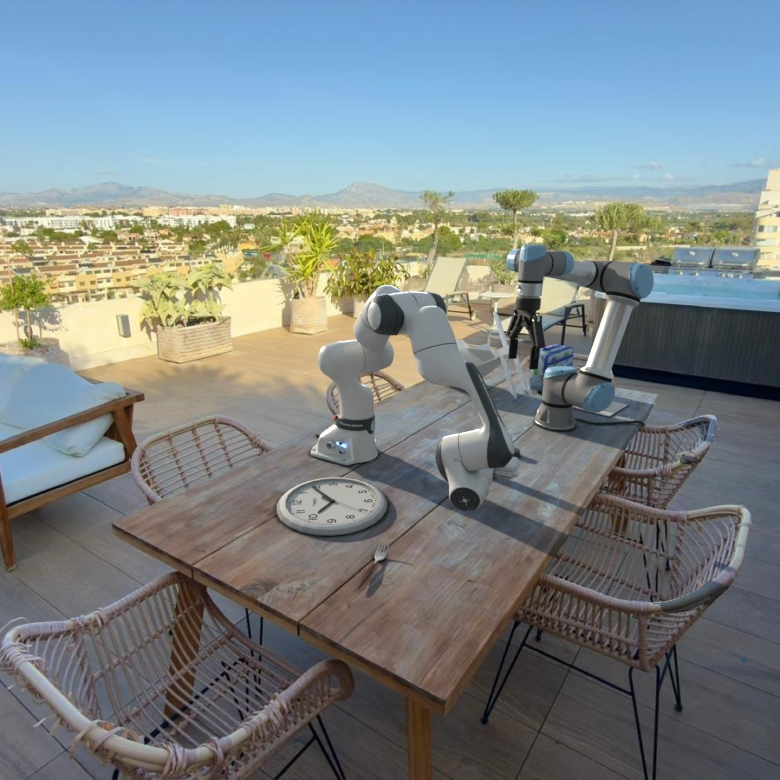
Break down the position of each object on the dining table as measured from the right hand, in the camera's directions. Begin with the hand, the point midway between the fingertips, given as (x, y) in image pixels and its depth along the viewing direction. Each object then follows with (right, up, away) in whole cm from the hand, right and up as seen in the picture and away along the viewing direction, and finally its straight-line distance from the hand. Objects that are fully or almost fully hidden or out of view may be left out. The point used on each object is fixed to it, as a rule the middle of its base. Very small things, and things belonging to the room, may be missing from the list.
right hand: (522, 363), depth 167 cm
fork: (-46, -48, -50) cm, 84 cm away
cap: (-1, -29, +9) cm, 30 cm away
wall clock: (-58, -40, -24) cm, 74 cm away
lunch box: (+34, -8, +83) cm, 90 cm away
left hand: (-15, -26, -19) cm, 35 cm away
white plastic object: (-1, -10, +76) cm, 77 cm away
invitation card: (+49, -16, +59) cm, 79 cm away
